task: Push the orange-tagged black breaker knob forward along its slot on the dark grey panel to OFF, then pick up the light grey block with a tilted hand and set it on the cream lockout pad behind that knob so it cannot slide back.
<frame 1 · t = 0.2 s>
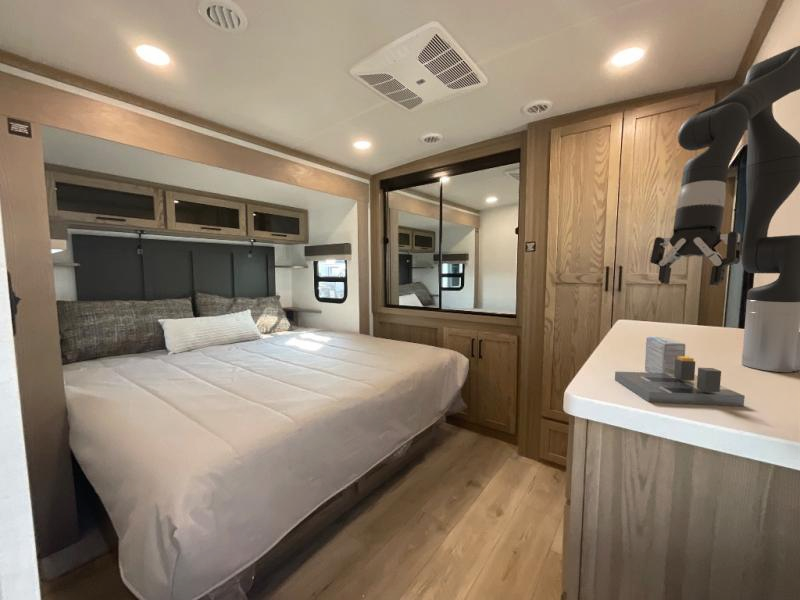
hand: (687, 284, 70), 22 cm above the cabinet, tool pointing down, fingers open, 8 cm apart
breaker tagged: (684, 368, 69), point 5 cm above the cabinet, slide at 0.0 cm
light grey block: (663, 376, 79), on the cabinet
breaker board: (672, 391, 68), on the cabinet
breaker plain: (708, 379, 63), point 4 cm above the cabinet, slide at 0.0 cm
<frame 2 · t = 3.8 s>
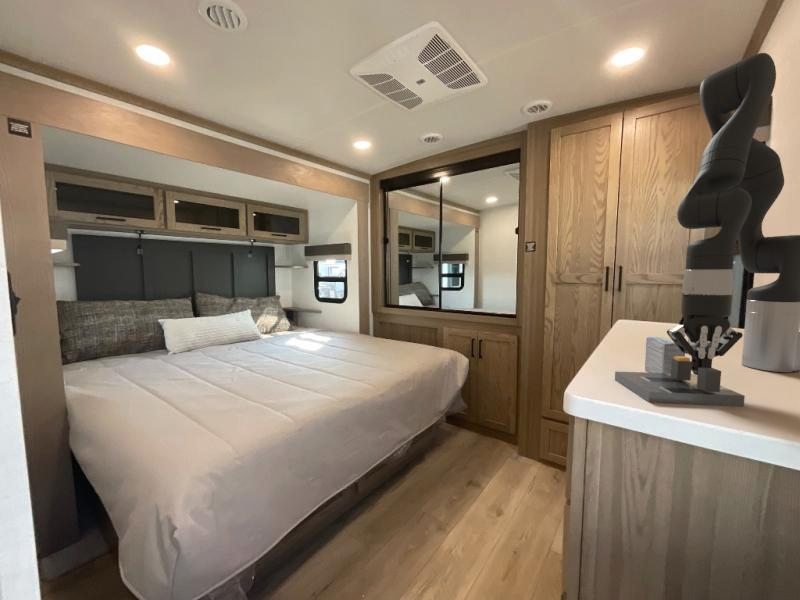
hand: (700, 375, 69), 3 cm above the cabinet, tool pointing down, fingers closed
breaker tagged: (681, 368, 69), point 5 cm above the cabinet, slide at 0.7 cm, touching gripper
everything else where it was.
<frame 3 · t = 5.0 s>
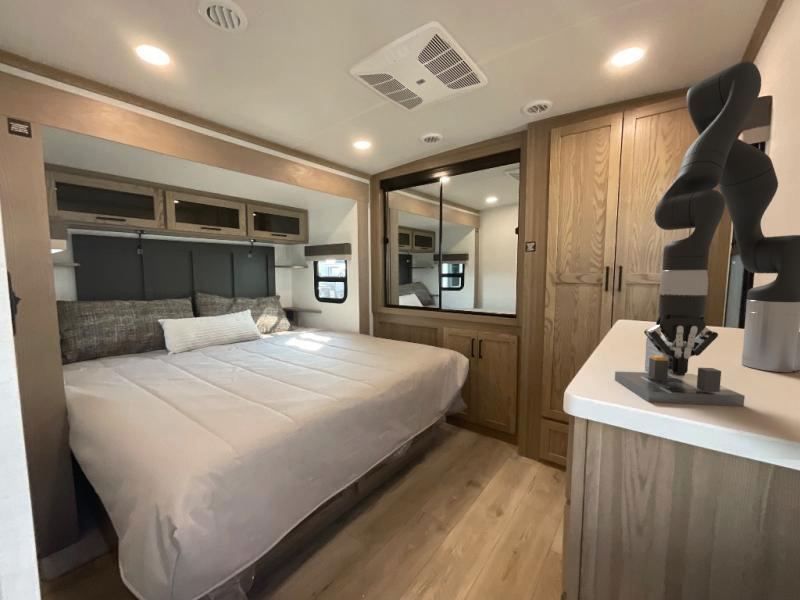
hand: (677, 374, 69), 3 cm above the cabinet, tool pointing down, fingers closed
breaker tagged: (658, 367, 70), point 5 cm above the cabinet, slide at 5.0 cm, touching gripper
everything else where it was.
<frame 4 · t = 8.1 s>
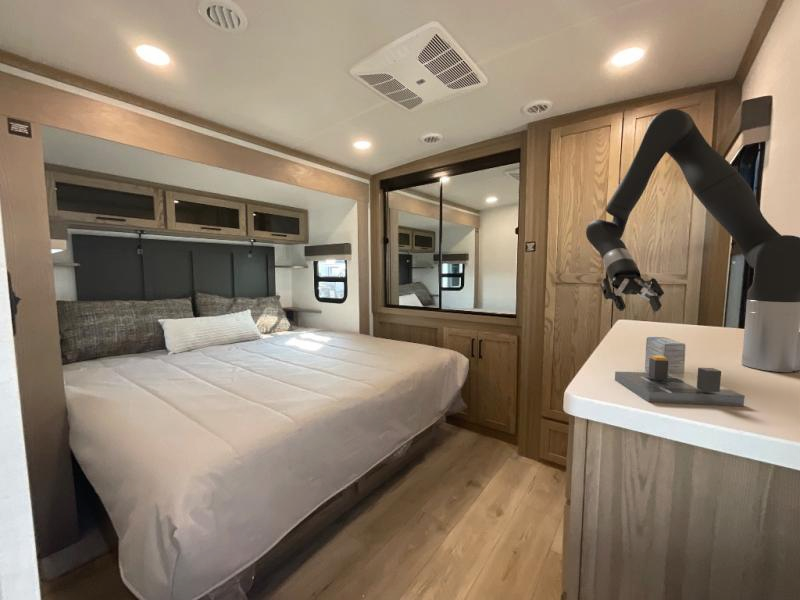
hand: (640, 309, 89), 15 cm above the cabinet, tool tilted 45°, fingers open, 8 cm apart
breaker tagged: (658, 367, 70), point 5 cm above the cabinet, slide at 5.0 cm
everything else where it was.
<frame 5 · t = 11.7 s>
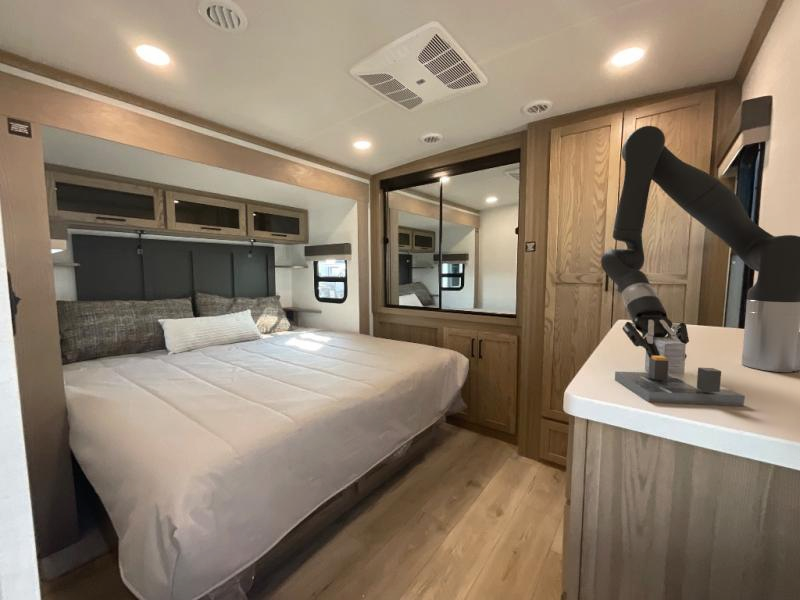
hand: (669, 360, 77), 4 cm above the cabinet, tool tilted 45°, fingers closed on light grey block, 4 cm apart
light grey block: (663, 376, 79), on the cabinet, touching gripper
everything else where it was.
when the fingers open (8 cm above the cabinet, at t = 16.0 s): light grey block drops 1 cm, resting on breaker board.
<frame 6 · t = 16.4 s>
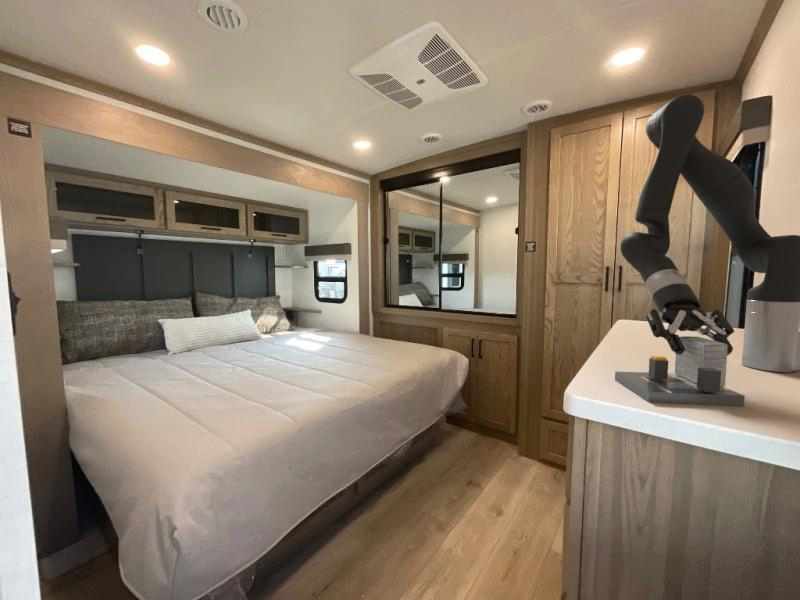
hand: (704, 353, 67), 8 cm above the cabinet, tool tilted 45°, fingers open, 8 cm apart
light grey block: (698, 381, 69), point 2 cm above the cabinet, touching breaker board
everything else where it was.
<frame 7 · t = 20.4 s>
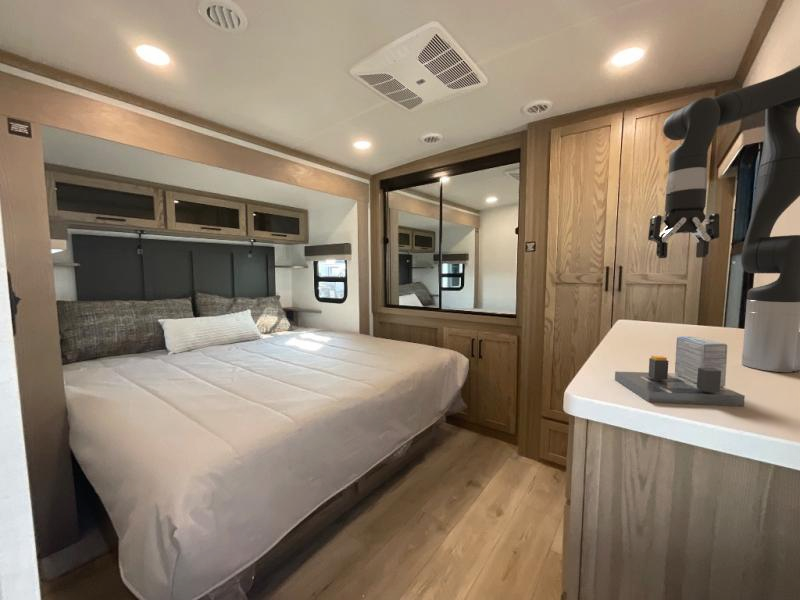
hand: (681, 257, 82), 28 cm above the cabinet, tool pointing down, fingers open, 8 cm apart
nothing on the cabinet moved.
at the end: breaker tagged slide at 5.0 cm; light grey block inside the target area (0.3 cm from its centre), point 1.8 cm above the cabinet; light grey block tilted 0° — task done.
